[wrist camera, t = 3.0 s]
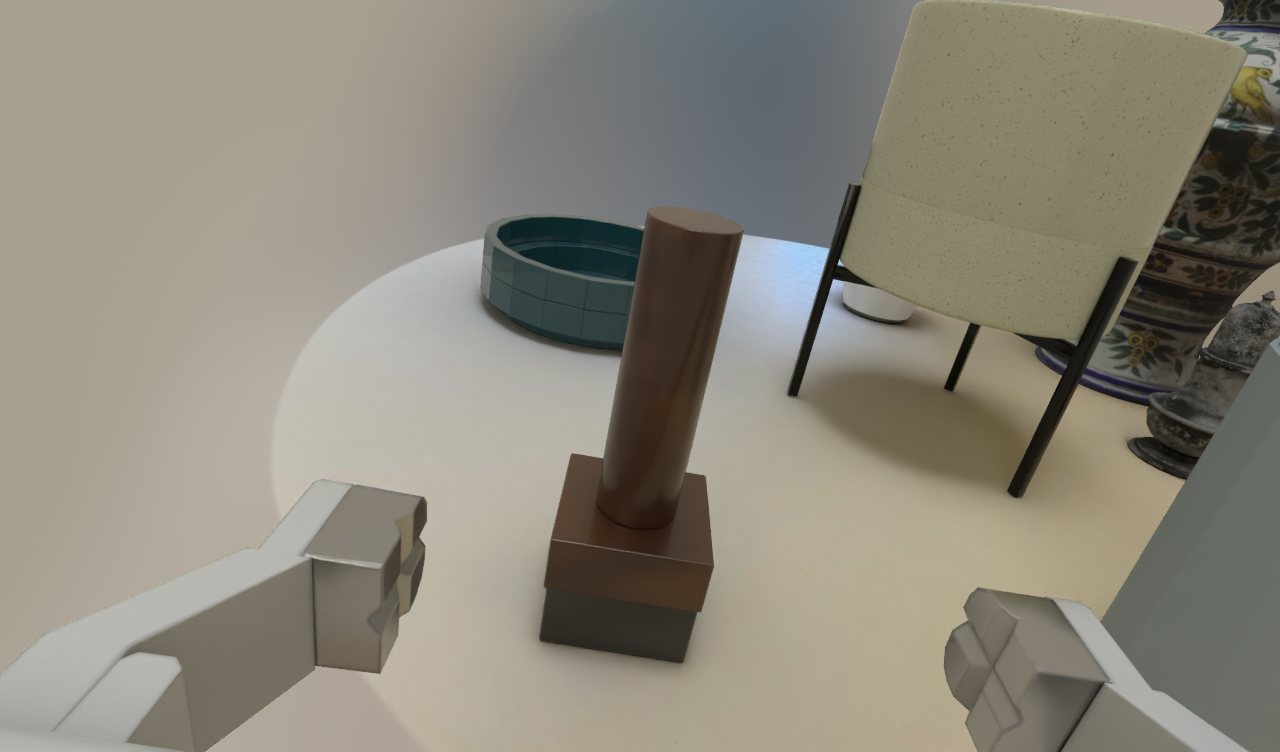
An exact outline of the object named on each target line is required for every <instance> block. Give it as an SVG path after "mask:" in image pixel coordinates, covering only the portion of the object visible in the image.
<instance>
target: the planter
mask: <svg viewBox="0 0 1280 752" xmlns="http://www.w3.org/2000/svg"><path fill="white" fill-rule="evenodd" d="M1247 57H1248V53H1247V51H1246V50H1245V49H1243V48H1242V47H1240V46H1238V45H1236V44H1233V43H1231V42H1228V41H1226V40H1223V39H1220V38H1216V37H1213V36H1210V35H1206V34H1203V33H1199V32H1194V31H1191V30H1186V29H1182V28H1178V27H1173V26H1169V25H1164V24H1159V23H1154V22H1149V21H1144V20H1139V19H1133V18H1127V17H1122V16H1116V15H1110V14H1103V13H1097V12H1090V11H1084V10H1076V9H1069V8H1062V7H1054V6H1045V5H1037V4H1027V3H1018V2H1017V3H1016V2H1007V1H994V0H927V1H921V2H919V3H917V4H916V5H915V6H914V8H913V11H912V14H911V17H910V20H909V24H908V27H907V30H906V33H905V37H904V40H903V43H902V47H901V50H900V53H899V56H898V60H897V63H896V66H895V70H894V73H893V76H892V79H891V83H890V86H889V89H888V93H887V96H886V99H885V102H884V106H883V109H882V112H881V115H880V119H879V122H878V125H877V129H876V132H875V135H874V138H873V142H872V145H871V148H870V151H869V155H868V158H867V161H866V165H865V168H864V171H863V174H862V178H861V181H860V184H853V183H849V186H848V189H847V193H846V196H845V199H844V202H843V206H842V209H841V213H840V216H839V219H838V223H837V226H836V230H835V233H834V236H833V239H832V243H831V246H830V249H829V253H828V256H827V259H826V263H825V266H824V270H823V273H822V276H821V280H820V283H819V286H818V290H817V293H816V296H815V300H814V303H813V306H812V310H811V313H810V316H809V320H808V323H807V327H806V330H805V333H804V337H803V340H802V343H801V347H800V350H799V353H798V357H797V360H796V363H795V367H794V370H793V374H792V377H791V380H790V384H789V387H788V395H793V396H797V395H798V392H799V389H800V386H801V383H802V379H803V376H804V373H805V369H806V366H807V363H808V360H809V356H810V353H811V350H812V347H813V343H814V340H815V337H816V334H817V330H818V327H819V324H820V320H821V317H822V314H823V311H824V307H825V304H826V301H827V298H828V294H829V291H830V288H831V285H832V281H833V279H835V280H840V281H845V282H850V283H854V284H859V285H864V286H869V287H873V288H878V289H881V290H883V291H885V292H887V293H889V294H891V295H893V296H896V297H898V298H900V299H903V300H905V301H908V302H910V303H913V304H915V305H918V306H920V307H923V308H926V309H929V310H931V311H934V312H937V313H940V314H943V315H946V316H950V317H953V318H956V319H960V320H963V321H967V322H970V325H969V327H968V329H967V332H966V334H965V337H964V339H963V342H962V344H961V347H960V349H959V352H958V354H957V357H956V359H955V362H954V364H953V367H952V369H951V372H950V374H949V376H948V379H947V381H946V384H945V386H944V389H946V390H949V391H954V390H955V388H956V385H957V383H958V380H959V378H960V375H961V373H962V371H963V368H964V366H965V363H966V361H967V358H968V356H969V354H970V351H971V349H972V346H973V344H974V341H975V339H976V337H977V334H978V332H979V329H980V327H981V325H982V326H986V327H990V328H994V329H999V330H1004V331H1008V332H1012V333H1014V334H1016V335H1018V336H1020V337H1022V338H1024V339H1026V340H1028V341H1030V342H1032V343H1033V344H1035V345H1037V346H1039V347H1041V348H1043V349H1045V350H1047V351H1049V352H1051V353H1053V354H1054V355H1056V356H1058V357H1060V358H1062V359H1064V360H1066V361H1068V362H1069V363H1068V365H1067V367H1066V369H1065V371H1064V373H1063V375H1062V378H1061V380H1060V382H1059V384H1058V386H1057V388H1056V390H1055V392H1054V394H1053V396H1052V398H1051V400H1050V402H1049V405H1048V407H1047V409H1046V411H1045V413H1044V415H1043V417H1042V419H1041V421H1040V423H1039V425H1038V427H1037V430H1036V432H1035V434H1034V436H1033V438H1032V440H1031V442H1030V444H1029V446H1028V448H1027V450H1026V452H1025V454H1024V457H1023V459H1022V461H1021V463H1020V465H1019V467H1018V469H1017V471H1016V473H1015V475H1014V477H1013V479H1012V481H1011V484H1010V486H1009V488H1008V490H1007V491H1008V492H1009V493H1010V494H1011V495H1013V496H1014V497H1016V498H1017V497H1022V496H1023V495H1024V493H1025V491H1026V489H1027V487H1028V485H1029V483H1030V481H1031V479H1032V477H1033V475H1034V473H1035V471H1036V469H1037V467H1038V465H1039V463H1040V460H1041V458H1042V456H1043V454H1044V452H1045V450H1046V448H1047V446H1048V444H1049V442H1050V440H1051V438H1052V436H1053V434H1054V432H1055V430H1056V428H1057V426H1058V424H1059V422H1060V420H1061V418H1062V416H1063V414H1064V412H1065V410H1066V408H1067V406H1068V404H1069V402H1070V400H1071V398H1072V396H1073V394H1074V392H1075V390H1076V388H1077V386H1078V384H1079V382H1080V380H1081V378H1082V376H1083V374H1084V372H1085V370H1086V367H1087V365H1088V363H1089V361H1090V359H1091V357H1092V355H1093V353H1094V351H1095V349H1096V347H1097V345H1098V343H1099V341H1100V339H1101V337H1103V336H1105V335H1107V334H1108V333H1109V332H1110V331H1111V329H1112V327H1113V326H1114V324H1115V322H1116V320H1117V318H1118V316H1119V314H1120V312H1121V310H1122V308H1123V306H1124V304H1125V302H1126V300H1127V298H1128V296H1129V293H1130V291H1131V289H1132V287H1133V285H1134V283H1135V281H1136V279H1137V277H1138V275H1139V273H1140V271H1141V269H1142V267H1143V265H1144V263H1145V261H1146V259H1147V257H1148V255H1149V253H1150V251H1151V249H1152V247H1153V245H1154V243H1155V241H1156V239H1157V237H1158V235H1159V233H1160V231H1161V229H1162V227H1163V225H1164V223H1165V221H1166V219H1167V217H1168V215H1169V213H1170V211H1171V209H1172V207H1173V205H1174V203H1175V201H1176V199H1177V197H1178V195H1179V193H1180V191H1181V189H1182V187H1183V185H1184V183H1185V181H1186V179H1187V177H1188V175H1189V173H1190V171H1191V169H1192V167H1193V165H1194V163H1195V161H1196V159H1197V157H1198V155H1199V153H1200V151H1201V149H1202V147H1203V145H1204V143H1205V141H1206V139H1207V137H1208V135H1209V133H1210V131H1211V129H1212V127H1213V125H1214V123H1215V121H1216V119H1217V117H1218V115H1219V113H1220V111H1221V109H1222V107H1223V105H1224V103H1225V101H1226V99H1227V97H1228V95H1229V93H1230V91H1231V89H1232V87H1233V85H1234V83H1235V81H1236V79H1237V77H1238V75H1239V73H1240V71H1241V69H1242V67H1243V65H1244V63H1245V61H1246V59H1247ZM839 259H840V261H841V262H842V264H843V265H844V266H841V265H838V262H839ZM1065 339H1080V340H1079V342H1078V344H1077V345H1075V344H1073V343H1071V342H1069V341H1067V340H1065Z"/></svg>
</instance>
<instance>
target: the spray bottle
mask: <svg viewBox="0 0 1280 752" xmlns="http://www.w3.org/2000/svg"><path fill="white" fill-rule="evenodd" d="M1101 624H1102V625H1103V626H1104V628H1105V629H1106V630H1107V632H1108V633H1109V634H1110V635H1111V637H1112V638H1113V639H1114V641H1115V642H1116V643H1117V645H1118V646H1119V647H1120V649H1121V650H1122V651H1123V652H1124V654H1125V655H1126V656H1127V658H1128V659H1129V660H1130V662H1131V663H1132V664H1133V666H1134V667H1135V668H1136V669H1137V671H1138V672H1139V673H1140V675H1141V676H1142V677H1143V679H1144V680H1145V681H1146V683H1147V684H1148V685H1149V686H1150V688H1151V689H1152V690H1154V691H1160V692H1164V693H1165V694H1167V695H1168V696H1170V697H1171V698H1172V699H1174V700H1175V701H1177V702H1178V703H1180V704H1181V705H1183V706H1184V707H1185V708H1187V709H1188V710H1190V711H1191V712H1193V713H1194V714H1195V715H1197V716H1198V717H1200V718H1201V719H1203V720H1204V721H1206V722H1207V723H1208V724H1210V725H1211V726H1213V727H1214V728H1216V729H1217V730H1219V731H1220V732H1221V733H1223V734H1224V735H1226V736H1227V737H1229V738H1230V739H1232V740H1233V741H1234V742H1236V743H1237V744H1239V745H1240V746H1242V747H1243V748H1244V749H1246V750H1247V751H1249V752H1280V338H1276V339H1275V340H1273V341H1272V342H1270V343H1269V344H1268V346H1267V348H1266V349H1265V351H1264V353H1263V354H1262V356H1261V358H1260V359H1259V361H1258V363H1257V364H1256V366H1255V367H1254V369H1253V371H1252V372H1251V374H1250V376H1249V377H1248V379H1247V381H1246V382H1245V384H1244V386H1243V387H1242V389H1241V391H1240V392H1239V394H1238V396H1237V397H1236V399H1235V401H1234V402H1233V404H1232V406H1231V407H1230V409H1229V410H1228V412H1227V414H1226V415H1225V417H1224V419H1223V420H1222V422H1221V424H1220V425H1219V427H1218V429H1217V430H1216V432H1215V434H1214V435H1213V437H1212V439H1211V440H1210V442H1209V444H1208V445H1207V447H1206V449H1205V450H1204V452H1203V453H1202V455H1201V457H1200V458H1199V460H1198V462H1197V463H1196V465H1195V467H1194V468H1193V470H1192V472H1191V473H1190V475H1189V477H1188V478H1187V480H1186V482H1185V483H1184V485H1183V487H1182V488H1181V490H1180V492H1179V493H1178V495H1177V496H1176V498H1175V500H1174V501H1173V503H1172V505H1171V506H1170V508H1169V510H1168V511H1167V513H1166V515H1165V516H1164V518H1163V520H1162V521H1161V523H1160V525H1159V526H1158V528H1157V530H1156V531H1155V533H1154V535H1153V536H1152V538H1151V539H1150V541H1149V543H1148V544H1147V546H1146V548H1145V549H1144V551H1143V553H1142V554H1141V556H1140V558H1139V559H1138V561H1137V563H1136V564H1135V566H1134V568H1133V569H1132V571H1131V573H1130V574H1129V576H1128V578H1127V579H1126V581H1125V582H1124V584H1123V586H1122V587H1121V589H1120V591H1119V592H1118V594H1117V596H1116V597H1115V599H1114V601H1113V602H1112V604H1111V606H1110V607H1109V609H1108V611H1107V612H1106V614H1105V616H1104V617H1103V619H1102V621H1101Z"/></svg>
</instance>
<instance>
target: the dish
mask: <svg viewBox="0 0 1280 752" xmlns="http://www.w3.org/2000/svg"><path fill="white" fill-rule="evenodd" d="M643 234H644V228H642V227H637V226H632V225H628V224H624V223H619V222H615V221H610V220H603V219H596V218H589V217H583V216H582V217H581V216H570V215H555V214H539V215H538V214H534V215H521V216H515V217H509V218H503V219H500V220H498V221H496V222H494V223H492V224H490V225H488V227H487V230H486V233H485V239H484V251H483V264H482V276H481V290H482V291H483V293H484V295H485V296H486V298H487V300H488V301H489V302H490V303H492V304H493V305H495V306H496V307H497V308H499V309H500V310H501V311H502V312H503V313H504V314H505V315H506V316H507V317H508V318H509V319H511V320H512V321H514V322H515V323H517V324H519V325H520V326H522V327H524V328H526V329H528V330H531V331H533V332H536V333H538V334H541V335H544V336H547V337H549V338H553V339H556V340H560V341H564V342H568V343H573V344H577V345H583V346H589V347H597V348H606V349H623V345H624V340H625V334H626V329H627V323H628V317H629V312H630V306H631V301H632V295H633V289H634V284H635V278H636V273H637V267H638V262H639V256H640V250H641V245H642V239H643Z"/></svg>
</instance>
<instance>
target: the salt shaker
mask: <svg viewBox="0 0 1280 752" xmlns="http://www.w3.org/2000/svg"><path fill="white" fill-rule="evenodd" d="M1273 293H1274V291H1270V292H1268V293H1266V294H1265V295H1262V297H1263V300H1262V301H1261V302H1254V303H1244V304H1239V305H1236V306H1234V307H1232V308H1231V309H1230V310H1229V311H1228V313H1227V315H1226V316H1225V318H1224V320H1223V322H1222V324H1221V325H1220V327H1219V329H1218V331H1217V332H1216V334H1215V336H1214V338H1213V339H1212V341H1211V343H1210V344H1209V346H1208V348H1200V349H1199V350H1198V354H1199V355H1200V357H1201V358H1200V359H1199V361H1198V363H1197V364H1196V366H1195V368H1194V370H1193V371H1192V373H1191V375H1190V377H1189V379H1188V380H1187V381H1186V382H1185V383H1184V384H1183V385H1182V386H1181V387H1180V388H1179V389H1178V390H1177V391H1175V392H1171V393H1163V392H1156V393H1151V394H1150V395H1148V402H1149V403H1150V405H1149V407H1148V409H1147V425H1148V428H1149V430H1150V432H1151V434H1152V435H1153V436H1154V437H1155V438H1154V437H1142V438H1133V439H1131V440H1130V441H1129V442H1128V446H1129V448H1130V449H1131V451H1133V452H1134V453H1135V454H1136V455H1137V456H1138V457H1140V458H1141V459H1143V460H1144V461H1146V462H1147V463H1149V464H1151V465H1153V466H1155V467H1156V468H1159V469H1161V470H1163V471H1165V472H1167V473H1170V474H1172V475H1175V476H1178V477H1180V478H1184V479H1187V478H1188V477H1189V475H1190V473H1191V472H1192V470H1193V468H1194V467H1195V465H1196V463H1197V462H1198V460H1199V458H1200V457H1201V455H1202V453H1203V452H1204V450H1205V449H1206V447H1207V445H1208V444H1209V442H1210V440H1211V439H1212V437H1213V435H1214V434H1215V432H1216V430H1217V429H1218V427H1219V425H1220V424H1221V422H1222V420H1223V419H1224V417H1225V415H1226V414H1227V412H1228V410H1229V409H1230V407H1231V406H1232V404H1233V402H1234V401H1235V399H1236V397H1237V396H1238V394H1239V392H1240V391H1241V389H1242V387H1243V386H1244V384H1245V382H1246V381H1247V379H1248V377H1249V376H1250V374H1251V372H1252V371H1253V369H1254V367H1255V366H1256V364H1257V363H1258V361H1259V359H1260V358H1261V356H1262V354H1263V353H1264V351H1265V349H1266V348H1267V346H1268V344H1269V343H1270V342H1272V341H1273V340H1275V339H1276V338H1278V337H1279V336H1280V313H1279V312H1278V311H1276V310H1274V306H1272V305H1271V301H1273V300H1276V299H1275V298H1274V297H1275V295H1274V294H1273Z"/></svg>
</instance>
